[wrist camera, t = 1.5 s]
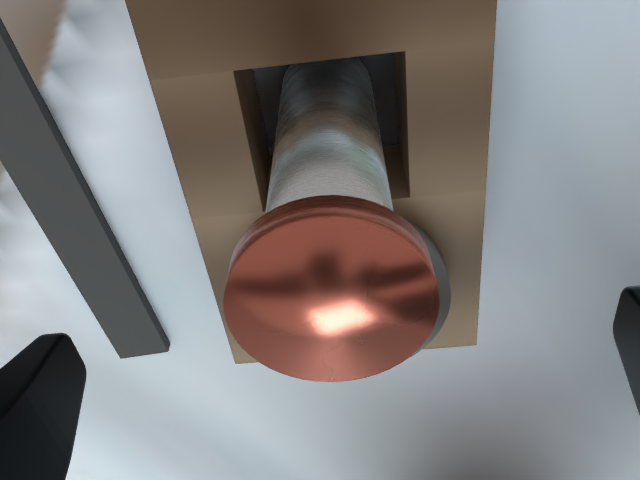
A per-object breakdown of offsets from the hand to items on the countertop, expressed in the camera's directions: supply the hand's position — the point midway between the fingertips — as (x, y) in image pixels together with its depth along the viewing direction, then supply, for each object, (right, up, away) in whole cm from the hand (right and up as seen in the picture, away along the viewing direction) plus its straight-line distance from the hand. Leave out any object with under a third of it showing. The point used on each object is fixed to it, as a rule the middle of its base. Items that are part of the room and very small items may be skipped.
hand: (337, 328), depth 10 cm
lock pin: (0, +6, +8) cm, 10 cm away
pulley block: (0, +4, +9) cm, 10 cm away
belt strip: (-9, +3, +10) cm, 13 cm away
